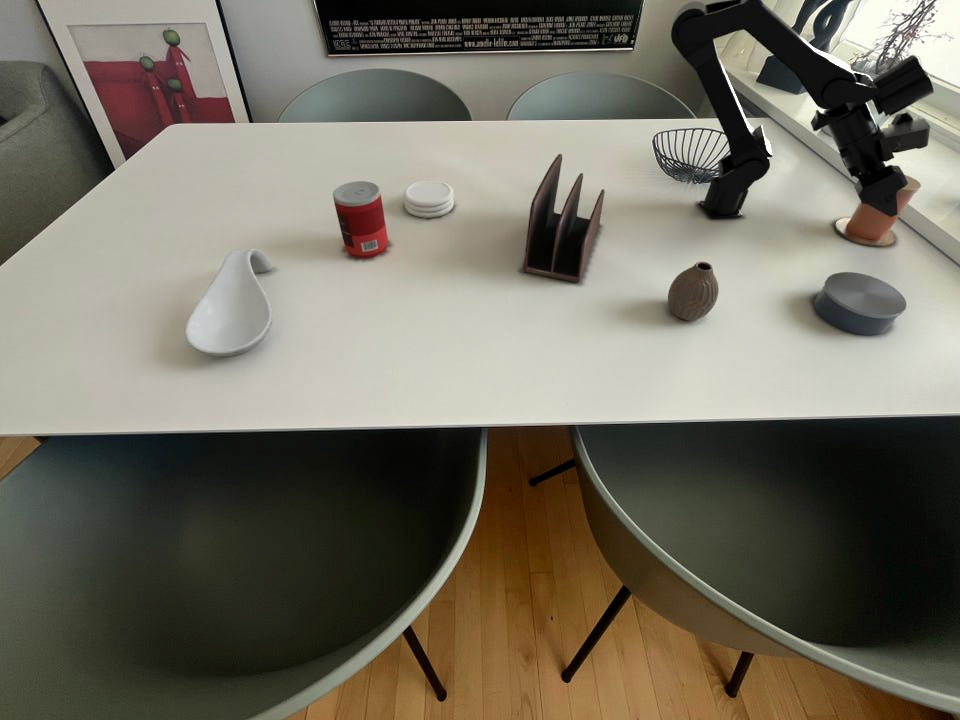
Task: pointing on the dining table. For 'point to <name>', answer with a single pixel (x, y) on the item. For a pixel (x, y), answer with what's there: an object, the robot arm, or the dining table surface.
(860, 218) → the canister
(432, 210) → the coaster
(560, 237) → the letter holder
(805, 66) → the robot arm
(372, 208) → the canned food
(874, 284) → the tin
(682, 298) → the vase
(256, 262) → the spoon rest
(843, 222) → the mat
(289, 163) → the dining table surface
